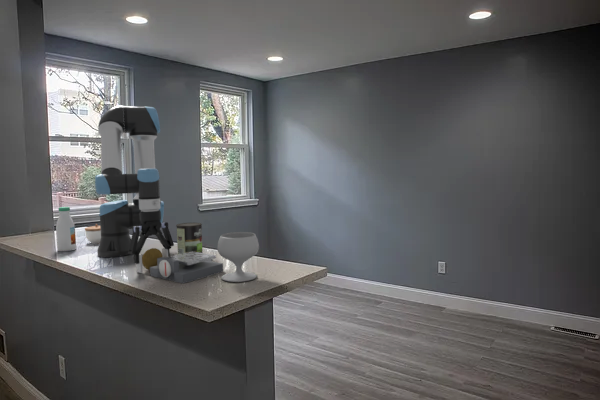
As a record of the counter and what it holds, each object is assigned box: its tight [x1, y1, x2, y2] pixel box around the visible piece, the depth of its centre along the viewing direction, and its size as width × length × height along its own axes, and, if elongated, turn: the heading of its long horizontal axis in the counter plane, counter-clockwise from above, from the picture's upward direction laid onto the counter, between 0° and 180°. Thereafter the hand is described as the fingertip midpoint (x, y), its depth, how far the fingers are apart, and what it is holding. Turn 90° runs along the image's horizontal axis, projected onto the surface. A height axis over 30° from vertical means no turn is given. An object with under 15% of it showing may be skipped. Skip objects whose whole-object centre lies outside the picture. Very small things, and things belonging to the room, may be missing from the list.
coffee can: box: [175, 222, 204, 255], centre depth 180 cm, size 10×10×14 cm
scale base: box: [149, 257, 224, 284], centre depth 154 cm, size 18×19×7 cm
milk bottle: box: [55, 206, 77, 252], centre depth 199 cm, size 8×8×20 cm
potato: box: [142, 247, 163, 271], centre depth 161 cm, size 7×8×8 cm
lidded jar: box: [84, 223, 101, 244], centre depth 218 cm, size 11×11×9 cm
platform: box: [165, 251, 217, 265], centre depth 155 cm, size 13×13×1 cm
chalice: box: [217, 231, 260, 283], centre depth 147 cm, size 14×14×15 cm
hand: (153, 268), depth 161 cm, fingers open, 11 cm apart
